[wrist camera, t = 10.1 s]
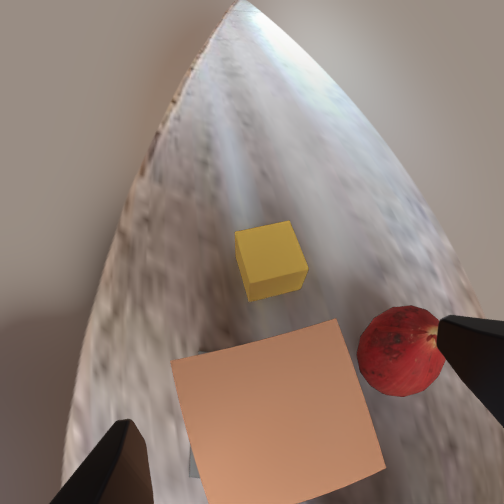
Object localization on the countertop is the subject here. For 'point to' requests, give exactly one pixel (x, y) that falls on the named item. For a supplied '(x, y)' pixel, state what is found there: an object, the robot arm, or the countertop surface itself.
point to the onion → (400, 351)
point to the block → (270, 260)
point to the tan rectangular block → (277, 418)
